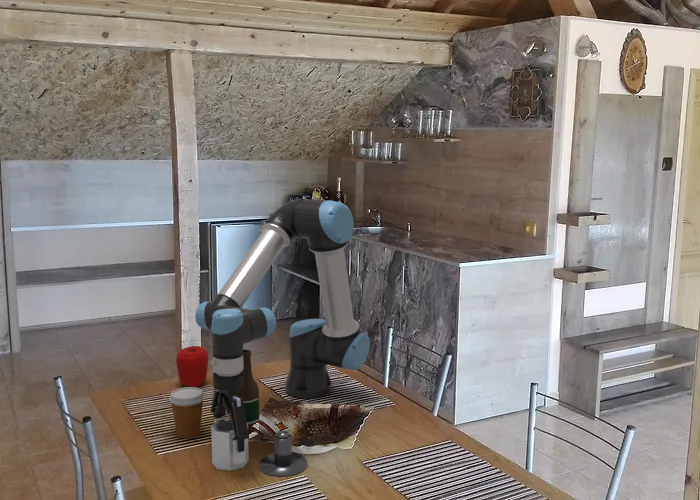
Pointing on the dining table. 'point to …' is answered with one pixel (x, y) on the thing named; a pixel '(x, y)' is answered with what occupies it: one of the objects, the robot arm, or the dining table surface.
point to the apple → (192, 366)
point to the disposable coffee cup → (187, 411)
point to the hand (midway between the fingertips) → (229, 452)
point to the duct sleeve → (225, 446)
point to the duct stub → (283, 458)
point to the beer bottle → (249, 393)
